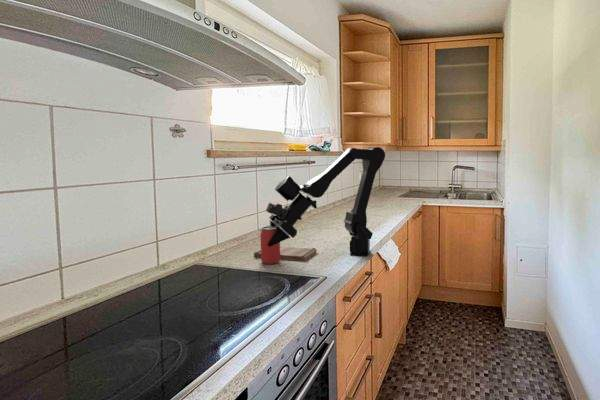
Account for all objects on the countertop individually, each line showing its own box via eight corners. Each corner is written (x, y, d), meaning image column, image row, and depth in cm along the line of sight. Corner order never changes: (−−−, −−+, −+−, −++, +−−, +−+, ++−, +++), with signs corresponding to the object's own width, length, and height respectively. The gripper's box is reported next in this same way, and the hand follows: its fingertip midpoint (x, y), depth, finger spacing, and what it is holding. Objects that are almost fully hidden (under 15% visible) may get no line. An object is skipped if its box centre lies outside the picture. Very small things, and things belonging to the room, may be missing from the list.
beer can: (282, 259, 148) (281, 226, 146) (276, 265, 142) (275, 229, 140) (265, 259, 150) (264, 225, 148) (258, 264, 143) (257, 229, 142)
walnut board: (316, 252, 157) (316, 248, 157) (305, 260, 146) (305, 255, 146) (268, 249, 164) (267, 244, 164) (253, 256, 153) (253, 252, 153)
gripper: (273, 191, 153) (245, 224, 151) (286, 197, 135) (253, 233, 133) (295, 211, 156) (267, 243, 154) (310, 219, 138) (278, 255, 136)
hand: (266, 243), depth 144 cm, fingers closed on beer can, 7 cm apart
